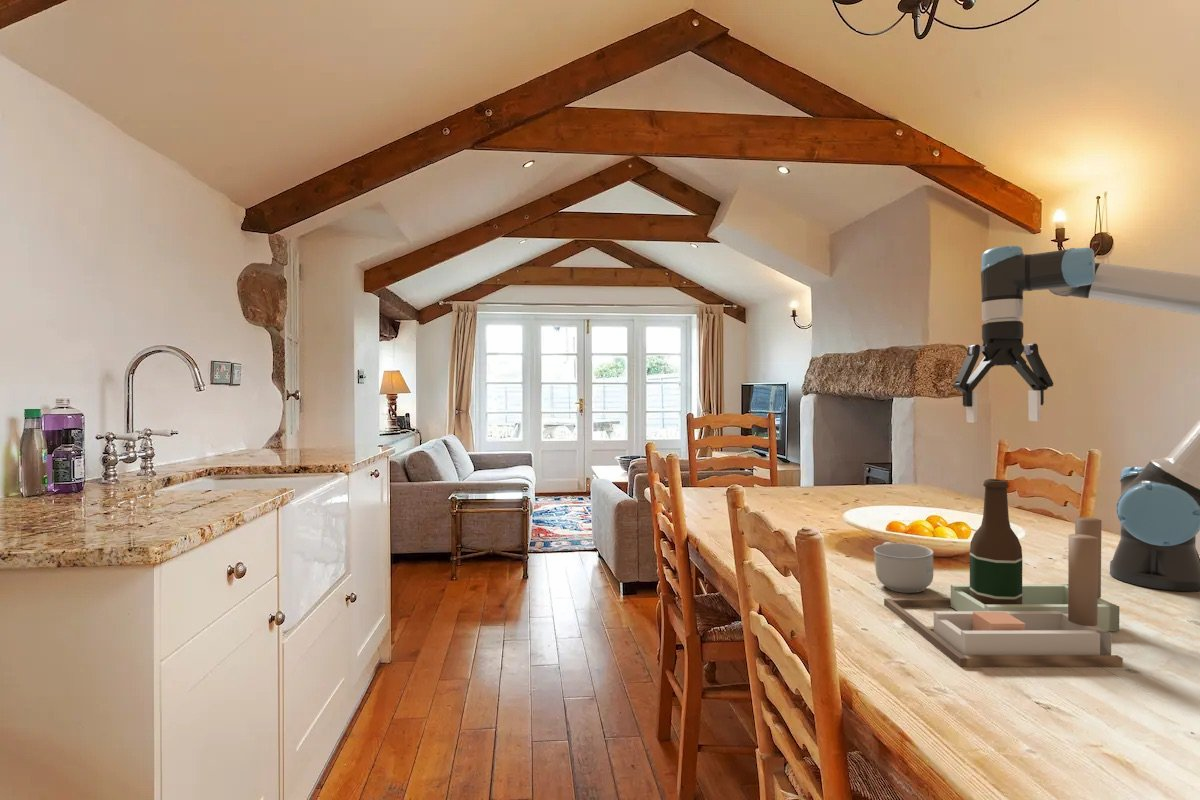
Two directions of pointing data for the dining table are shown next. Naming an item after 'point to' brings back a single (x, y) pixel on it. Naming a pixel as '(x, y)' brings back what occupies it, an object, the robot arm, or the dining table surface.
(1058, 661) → the lane rails
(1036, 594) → the bottle sled
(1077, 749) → the dining table surface
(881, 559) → the teacup
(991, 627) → the terracotta cube
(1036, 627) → the tray
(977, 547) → the beer bottle
